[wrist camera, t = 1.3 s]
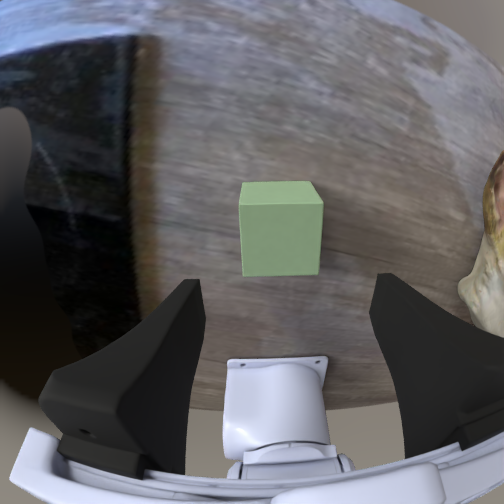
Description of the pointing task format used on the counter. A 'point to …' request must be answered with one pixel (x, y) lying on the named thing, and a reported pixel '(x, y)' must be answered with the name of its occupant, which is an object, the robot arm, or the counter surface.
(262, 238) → the sage block
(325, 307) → the counter surface
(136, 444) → the robot arm
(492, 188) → the ceramic sculpture
